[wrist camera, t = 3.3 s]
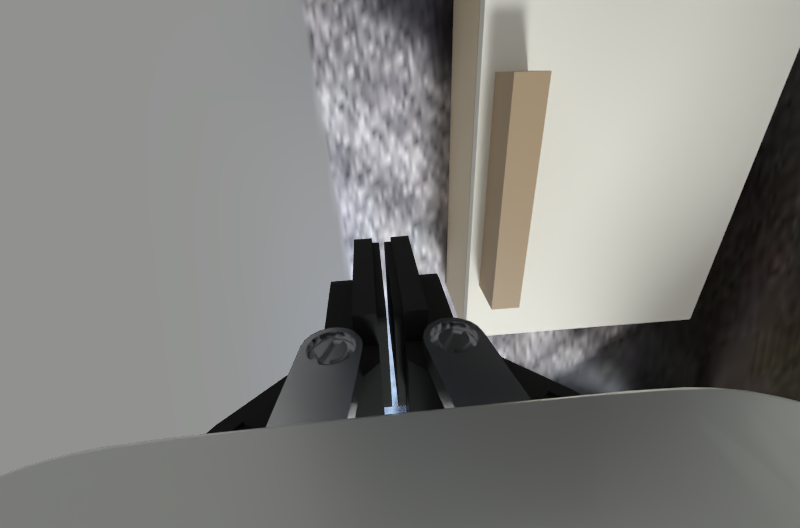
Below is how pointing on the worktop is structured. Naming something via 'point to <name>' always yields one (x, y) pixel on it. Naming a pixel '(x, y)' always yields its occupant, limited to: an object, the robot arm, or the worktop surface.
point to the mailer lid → (613, 153)
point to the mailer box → (461, 143)
